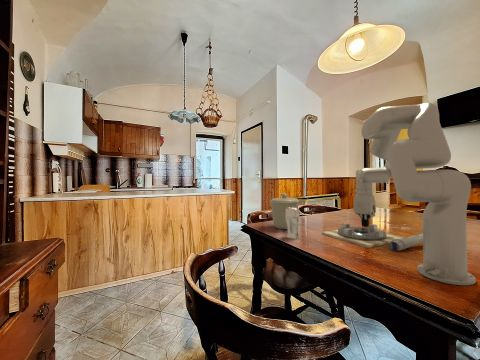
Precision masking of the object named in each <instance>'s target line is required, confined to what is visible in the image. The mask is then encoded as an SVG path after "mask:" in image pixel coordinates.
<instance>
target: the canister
mask: <svg viewBox="0 0 480 360" xmlns="http://www.w3.org/2000/svg"><path fill="white" fill-rule="evenodd" d="M269 203H270V208H271V214H272V215H271V216H272V222H273V225H274V227H275V228H276V229H279V230H287V224H286V218H285V212H286V208H288V207H296V208H299V203H300V200H298V198H296V197H288V194H287V193H285V192H283V193H281V197H274V198H271V200H269Z"/></svg>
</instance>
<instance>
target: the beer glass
mask: <svg viewBox="0 0 480 360" xmlns="http://www.w3.org/2000/svg"><path fill="white" fill-rule="evenodd" d="M285 218H286V224H287V229H286V230H287V234H286V238H287V239H290V240H298V239H300V235H299V226H300V208H299V207H298V208H296V207H288V208H286V212H285Z"/></svg>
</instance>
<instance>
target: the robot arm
mask: <svg viewBox="0 0 480 360" xmlns="http://www.w3.org/2000/svg"><path fill="white" fill-rule="evenodd" d="M439 111H440V110H439V109H438V107H437V106H436V104H434V103H432V102H424V103H417V104H408V105H407V104H406V105H405V104H404V105H395V106H394V105H393V106H391V105H390V106H382V107H380V108H378V109H376V110H375V111H374V112H373V113H372V114H371V115H370V116H368V118H366V119H365V121H364V122H363V125H362V127H361V137H362V138H363V139H365V140H372V143H371V144H370V148H369V152H370V154H371V155H373V156H374V157H377V158H379V159H381V160H384V161H385V164H384V166H383V167H364V168H359V169H357V170H356V171H355V181H356V182H355V190H354V192H355V193H356V194H354V197H353V212H354V213H355V215H357V216H359V218H360V219H361V227H364V228H369V225H370V221H369V220H370V219H371V218H373V217H376V213H377V207H376V200H375V195H374V194H373V193H374V192H373V184H383V183H388V182H389V181H390V180H391V179H392V182H393V185H394V189H395V192H396V194H397V196H398V197H399V199H401V200H402V201H404V202H407V203H427V205H426V207H425V208H424V210H423V213H422V219H421V220H422V221H421V223H422V233H423V242H422V257H423V258H422V259H423V260H422V261H423V263H421V264H418V265H417V266H416V269H417V272H418V273H419V274H420V275H422V276H424V277H426V278H428V279H430V280H434V281H436V282H440V283H444V284H449V285H455V286H456V285H457V286H472V285H474V284H475V283H476V282H477V281H476V277H475V275H473V274H472V273H470V272H469V271H468V251H467V250H468V243H467V240H468V239H467V212H468V211H467V208H468V203H469V199H470V194H471V189H472V184H471V180H470V179H469V176H468V175H466V173H463V172H461V171H460V170H456V169H455V170H453V169H438V168H441V167H444V166H447V165H448V164H449V163H450V161H451V158H452V154H451V150H450V147H449V144H448V141H447V138H446V136H445V133H444V130H443V128H442V126H441V123H440V112H439ZM402 130H406V131H407V132H406V133H407V137H408V138H405V139H399V140H398V138H399V137H400V134H401V131H402ZM435 168H437V169H435ZM419 169H420V170H419ZM421 169H422V170H421ZM423 169H427V170H423Z"/></svg>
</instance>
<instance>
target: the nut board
mask: <svg viewBox="0 0 480 360" xmlns="http://www.w3.org/2000/svg"><path fill="white" fill-rule="evenodd" d="M385 233H386V238H385V239H381V240H360V239H353V238H348V237H344V236H342V235H340V234H338V229H333V230H328V231H327V230H325V231H321V235H323V236H326V237H330V238H334V239H336V240H339V241H343V242H346V243H350V244H351V245H352V244H353V245H355V246H359V247H362V248H366V249H369V248H375V247H379V246H383V245H389V243H390V242H392V241H395V240H396V239H402V238H406V237H405V236H401V235H396V234H392V233H387V232H385Z"/></svg>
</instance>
